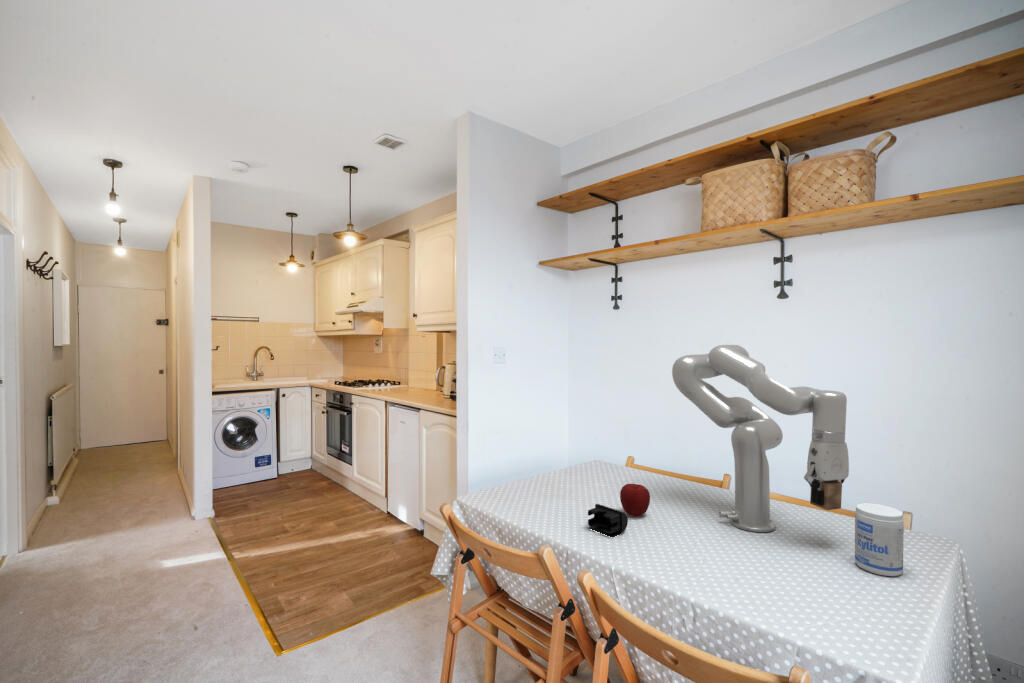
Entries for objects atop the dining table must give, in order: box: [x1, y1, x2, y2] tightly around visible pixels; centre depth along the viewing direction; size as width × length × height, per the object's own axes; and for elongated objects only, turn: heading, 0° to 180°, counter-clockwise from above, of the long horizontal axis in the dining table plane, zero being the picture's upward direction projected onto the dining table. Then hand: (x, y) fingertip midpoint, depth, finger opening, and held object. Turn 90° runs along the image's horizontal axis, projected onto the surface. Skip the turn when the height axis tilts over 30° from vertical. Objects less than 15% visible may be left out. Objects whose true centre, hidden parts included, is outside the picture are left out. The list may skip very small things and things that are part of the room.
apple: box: [619, 483, 651, 518], centre depth 156 cm, size 10×10×10 cm
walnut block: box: [809, 480, 843, 511], centre depth 130 cm, size 5×5×7 cm
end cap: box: [587, 503, 629, 538], centre depth 144 cm, size 10×7×7 cm
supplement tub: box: [854, 502, 905, 577], centre depth 118 cm, size 10×10×15 cm
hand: (825, 502), depth 130 cm, fingers closed on walnut block, 5 cm apart
